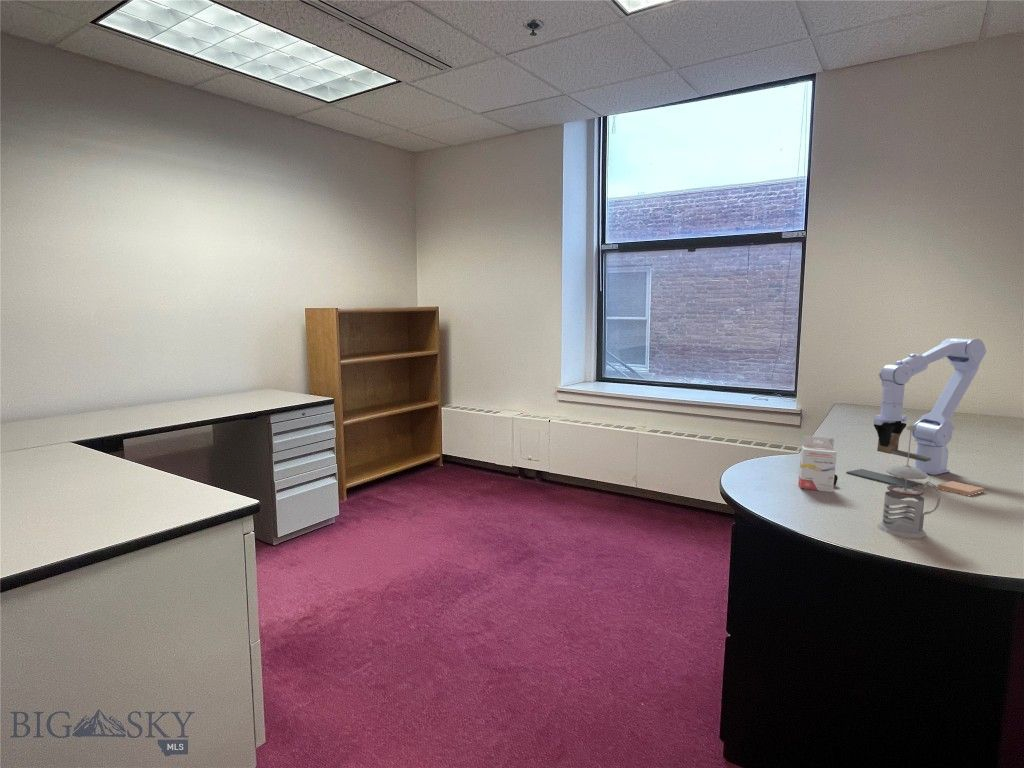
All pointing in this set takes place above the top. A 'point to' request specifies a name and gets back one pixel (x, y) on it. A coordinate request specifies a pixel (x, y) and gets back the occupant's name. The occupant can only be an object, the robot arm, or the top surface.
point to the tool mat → (883, 478)
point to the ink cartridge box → (817, 464)
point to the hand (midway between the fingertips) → (888, 445)
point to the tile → (960, 488)
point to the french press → (905, 502)
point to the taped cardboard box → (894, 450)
